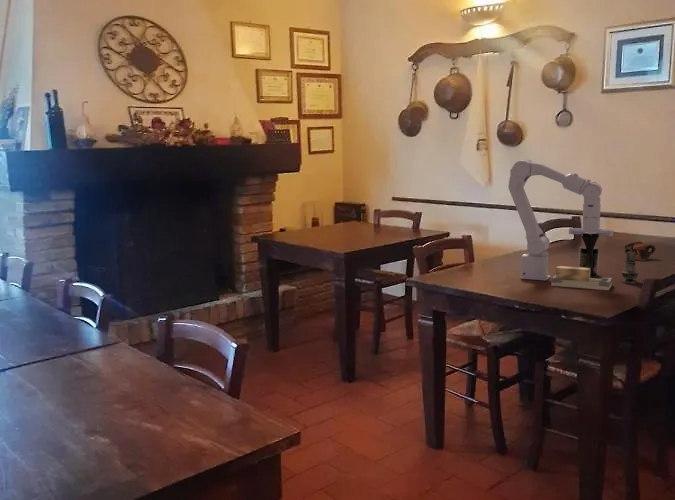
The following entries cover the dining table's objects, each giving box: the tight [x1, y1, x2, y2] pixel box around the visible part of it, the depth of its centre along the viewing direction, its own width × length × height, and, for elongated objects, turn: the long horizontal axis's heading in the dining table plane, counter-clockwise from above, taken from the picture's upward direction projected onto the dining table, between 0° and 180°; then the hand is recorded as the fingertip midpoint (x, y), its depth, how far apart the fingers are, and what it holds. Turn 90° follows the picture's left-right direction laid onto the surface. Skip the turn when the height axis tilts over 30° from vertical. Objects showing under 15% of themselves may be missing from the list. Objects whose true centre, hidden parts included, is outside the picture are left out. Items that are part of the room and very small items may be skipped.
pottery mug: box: [623, 241, 656, 261], centre depth 283 cm, size 12×10×8 cm
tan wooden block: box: [555, 265, 591, 282], centre depth 238 cm, size 11×4×5 cm, turn 62°
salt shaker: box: [620, 249, 640, 284], centre depth 240 cm, size 6×6×12 cm
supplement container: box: [578, 245, 600, 277], centre depth 253 cm, size 7×7×10 cm
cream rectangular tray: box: [550, 273, 613, 291], centre depth 237 cm, size 19×9×3 cm, turn 62°
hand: (589, 255), depth 240 cm, fingers closed
